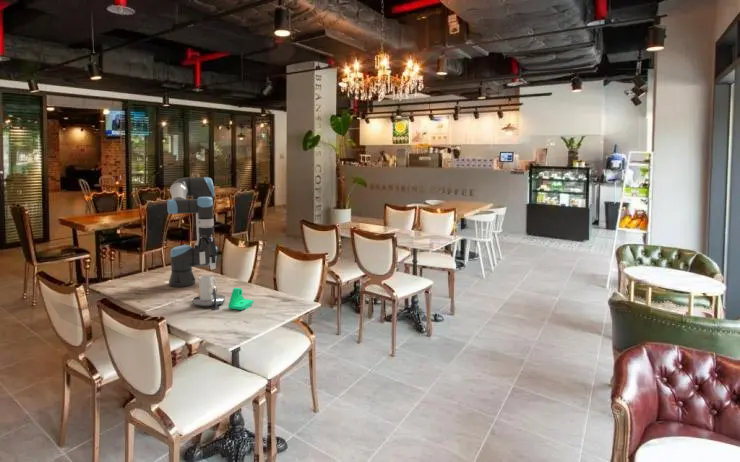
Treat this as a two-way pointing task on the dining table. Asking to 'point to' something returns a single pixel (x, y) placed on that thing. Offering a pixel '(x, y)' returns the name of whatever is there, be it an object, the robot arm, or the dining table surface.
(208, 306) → the turntable base
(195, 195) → the robot arm
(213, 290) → the gauge post
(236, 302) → the camera mount
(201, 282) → the mug
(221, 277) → the dining table surface
